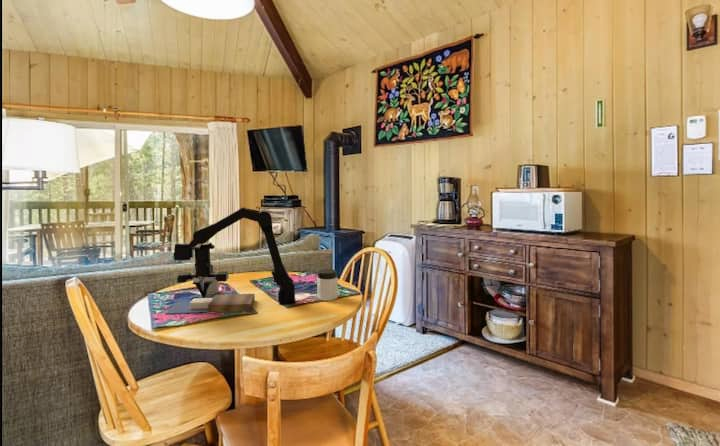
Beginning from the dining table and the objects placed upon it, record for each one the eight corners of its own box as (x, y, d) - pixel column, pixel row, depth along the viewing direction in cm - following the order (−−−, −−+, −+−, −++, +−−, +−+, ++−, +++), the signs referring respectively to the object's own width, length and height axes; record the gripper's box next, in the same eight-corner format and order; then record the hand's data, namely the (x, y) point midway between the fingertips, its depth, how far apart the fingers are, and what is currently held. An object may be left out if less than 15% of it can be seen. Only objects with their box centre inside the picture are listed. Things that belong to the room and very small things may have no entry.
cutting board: (254, 300, 181) (254, 293, 181) (250, 311, 167) (250, 303, 167) (215, 301, 179) (215, 294, 179) (208, 312, 165) (208, 305, 165)
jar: (315, 296, 188) (315, 269, 186) (332, 294, 191) (332, 268, 189) (321, 302, 179) (321, 274, 178) (339, 299, 183) (339, 272, 181)
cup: (205, 295, 188) (204, 275, 187) (197, 290, 195) (196, 271, 194) (221, 292, 193) (220, 273, 191) (212, 287, 200) (212, 269, 199)
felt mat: (215, 301, 179) (215, 300, 179) (208, 312, 165) (208, 311, 165) (176, 303, 177) (176, 302, 177) (165, 314, 163) (165, 313, 163)
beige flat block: (213, 303, 176) (213, 297, 175) (210, 308, 170) (210, 302, 169) (193, 304, 175) (193, 298, 174) (189, 308, 169) (189, 302, 168)
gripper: (230, 255, 178) (231, 291, 180) (183, 256, 176) (185, 292, 178) (225, 261, 167) (226, 299, 169) (175, 261, 165) (177, 300, 167)
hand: (204, 297), depth 171 cm, fingers closed
